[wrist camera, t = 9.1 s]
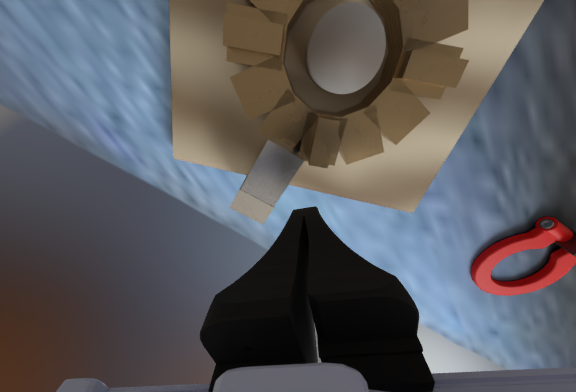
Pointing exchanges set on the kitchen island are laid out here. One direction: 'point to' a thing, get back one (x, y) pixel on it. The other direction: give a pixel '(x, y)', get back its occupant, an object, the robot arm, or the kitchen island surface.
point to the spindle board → (359, 180)
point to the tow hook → (537, 238)
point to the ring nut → (349, 122)
